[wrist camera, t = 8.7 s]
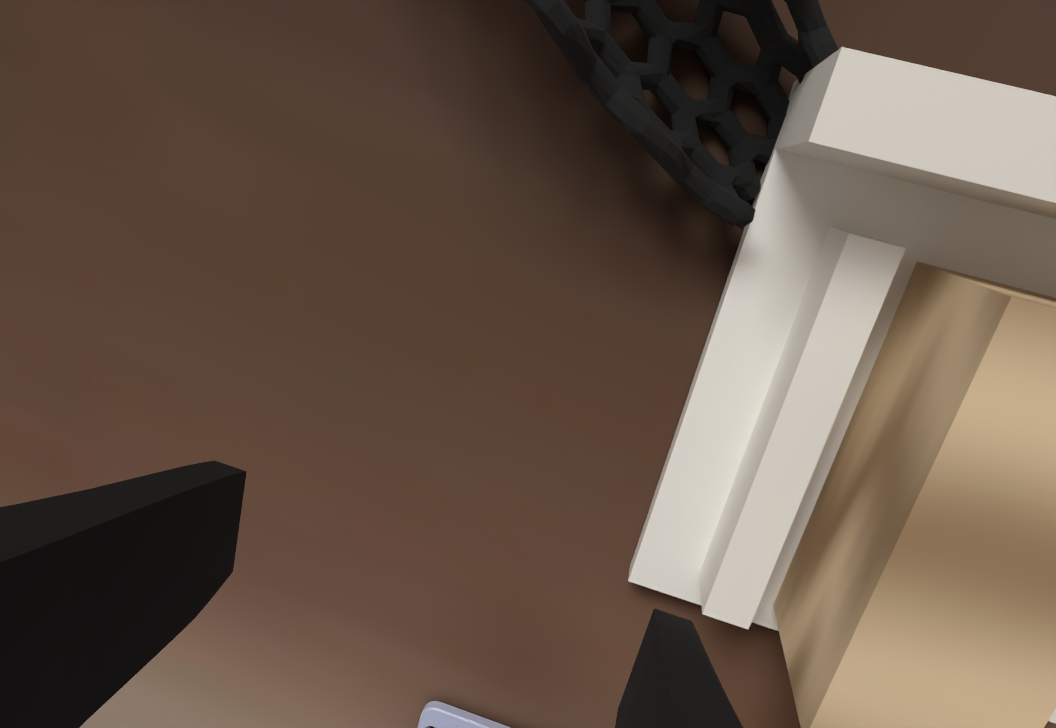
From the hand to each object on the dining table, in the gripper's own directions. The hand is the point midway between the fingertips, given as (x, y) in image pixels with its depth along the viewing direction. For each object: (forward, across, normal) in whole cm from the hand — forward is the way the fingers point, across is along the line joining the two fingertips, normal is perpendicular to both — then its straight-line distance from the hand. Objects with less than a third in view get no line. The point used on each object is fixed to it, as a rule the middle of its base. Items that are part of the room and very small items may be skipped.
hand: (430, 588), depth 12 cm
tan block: (+9, -10, -2) cm, 13 cm away
